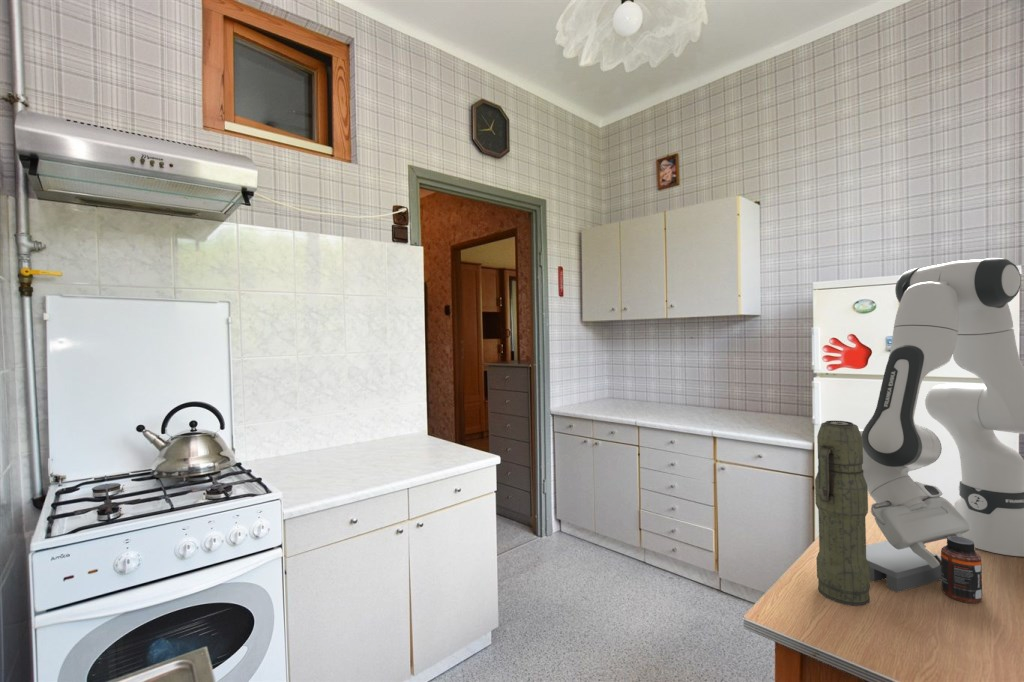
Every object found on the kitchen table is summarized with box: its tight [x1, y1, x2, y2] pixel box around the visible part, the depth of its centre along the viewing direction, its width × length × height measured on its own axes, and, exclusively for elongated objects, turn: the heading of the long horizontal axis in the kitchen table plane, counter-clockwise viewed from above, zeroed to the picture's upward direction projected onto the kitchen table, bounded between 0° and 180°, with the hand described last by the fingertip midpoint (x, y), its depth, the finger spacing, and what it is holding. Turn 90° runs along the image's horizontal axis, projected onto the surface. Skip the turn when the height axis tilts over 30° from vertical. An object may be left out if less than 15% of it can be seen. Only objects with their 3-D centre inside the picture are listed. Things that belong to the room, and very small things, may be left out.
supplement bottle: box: [940, 536, 984, 604], centre depth 95 cm, size 6×6×11 cm
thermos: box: [814, 420, 871, 607], centre depth 97 cm, size 9×12×35 cm
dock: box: [866, 539, 942, 593], centre depth 105 cm, size 16×11×4 cm
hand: (954, 562), depth 96 cm, fingers open, 8 cm apart
